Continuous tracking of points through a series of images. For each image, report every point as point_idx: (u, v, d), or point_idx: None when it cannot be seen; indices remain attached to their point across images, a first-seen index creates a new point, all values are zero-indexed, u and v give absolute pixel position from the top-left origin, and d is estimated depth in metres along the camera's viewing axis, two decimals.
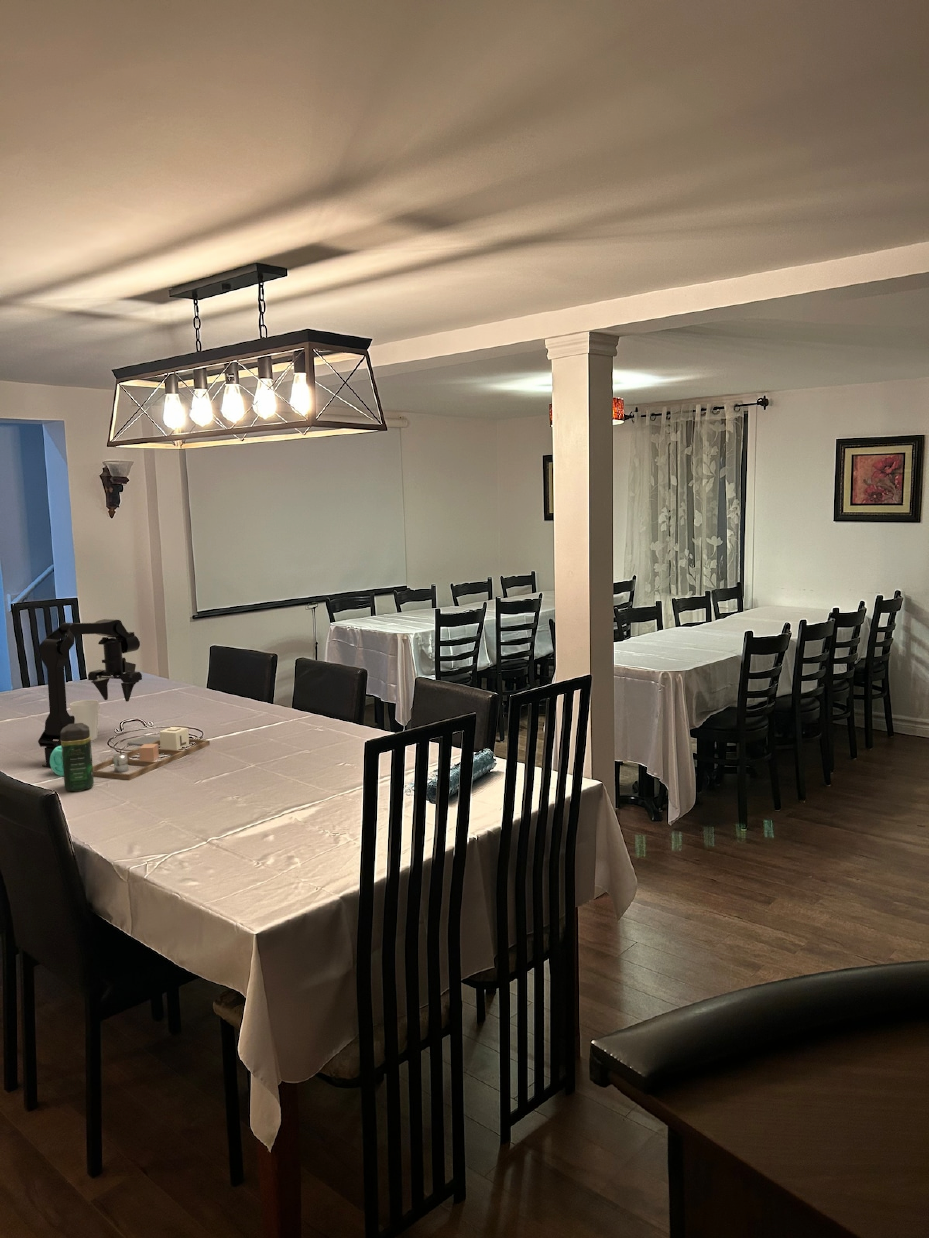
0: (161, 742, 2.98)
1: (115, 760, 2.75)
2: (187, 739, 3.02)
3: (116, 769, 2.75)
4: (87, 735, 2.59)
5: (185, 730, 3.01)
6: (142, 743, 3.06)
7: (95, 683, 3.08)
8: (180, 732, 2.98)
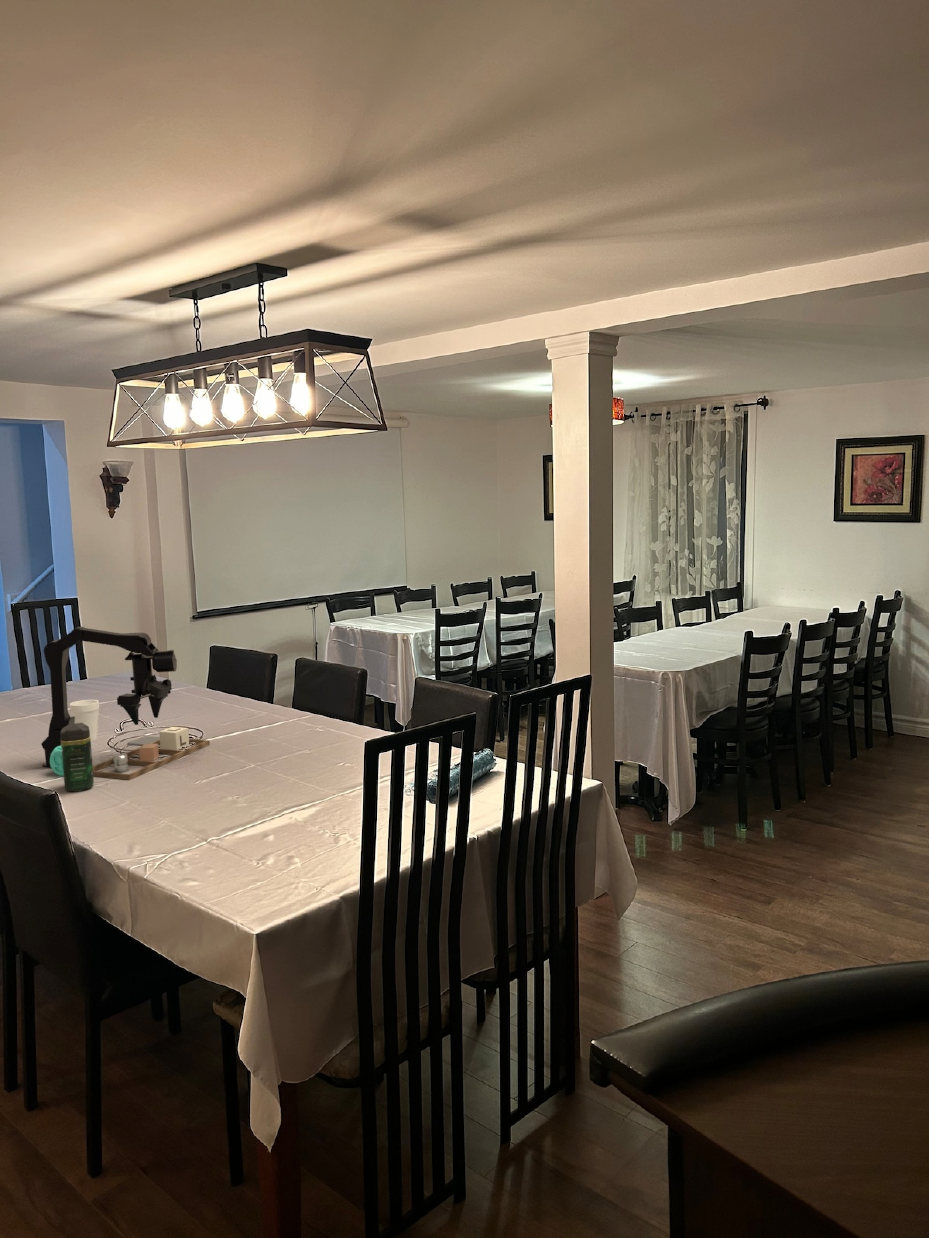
0: (161, 742, 2.98)
1: (115, 760, 2.75)
2: (187, 739, 3.02)
3: (116, 769, 2.75)
4: (87, 735, 2.59)
5: (185, 730, 3.01)
6: (142, 743, 3.06)
7: None
8: (180, 732, 2.98)
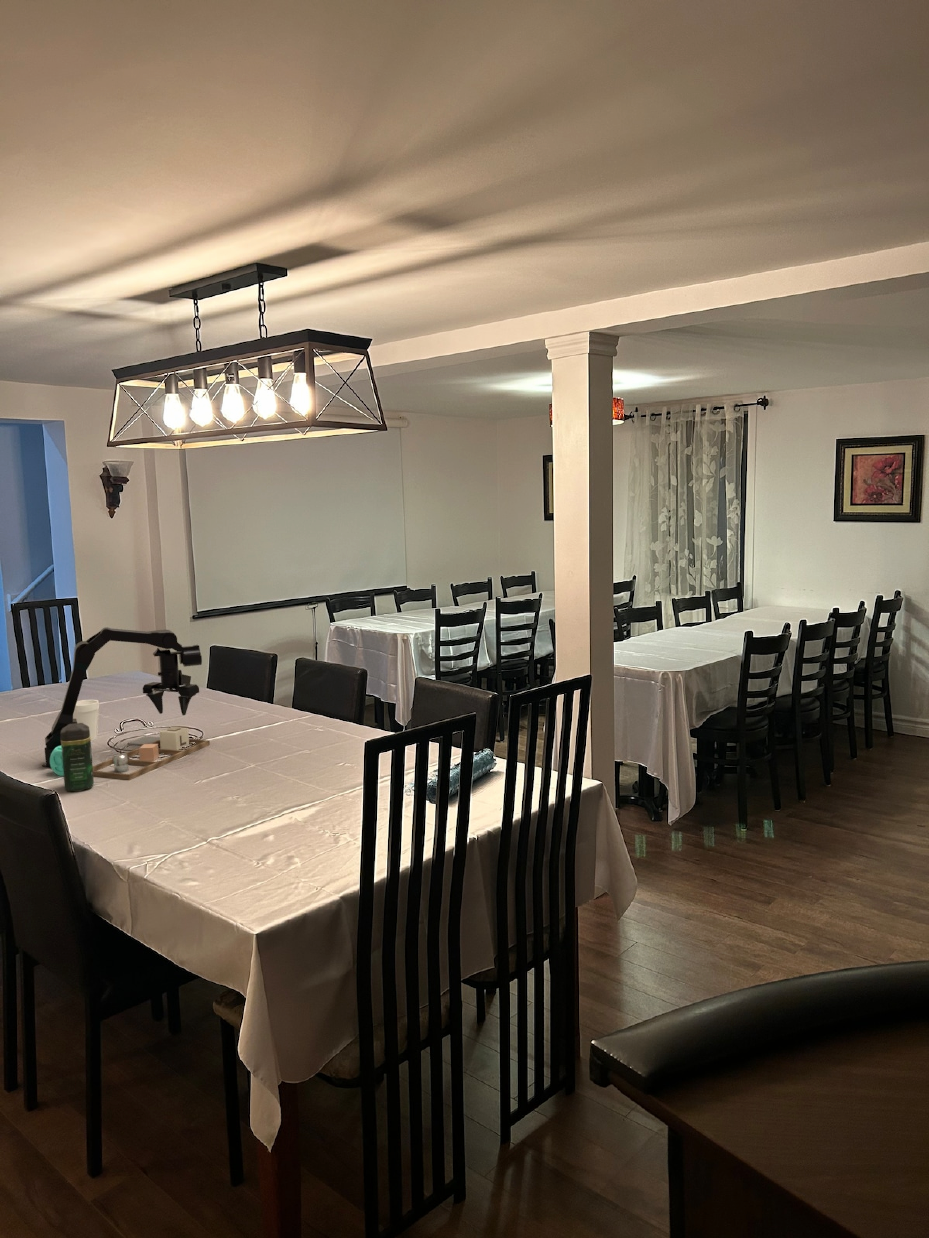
0: (161, 742, 2.98)
1: (115, 760, 2.75)
2: (187, 739, 3.02)
3: (116, 769, 2.75)
4: (87, 735, 2.59)
5: (185, 730, 3.01)
6: (142, 743, 3.06)
7: (150, 696, 2.98)
8: (180, 732, 2.98)
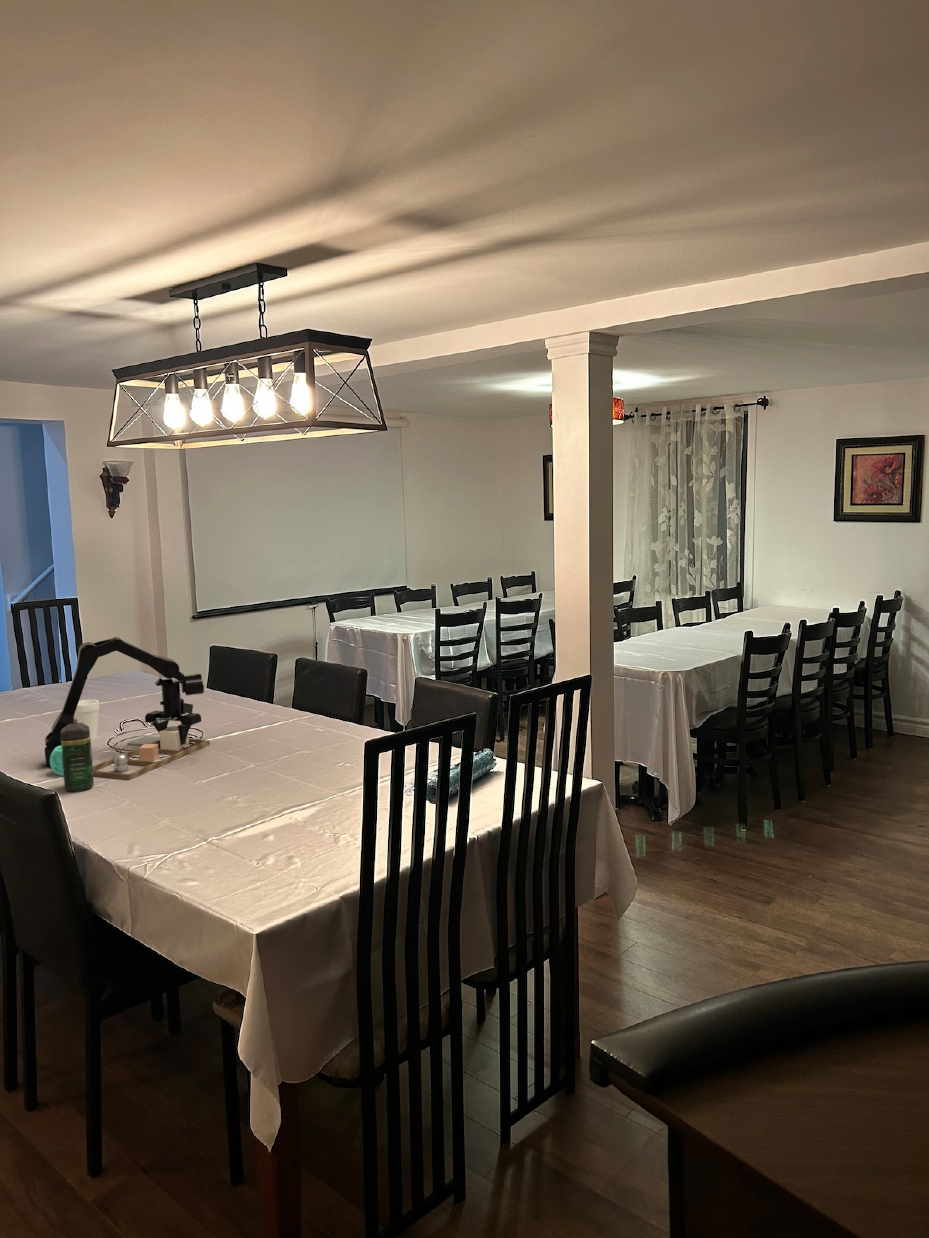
0: (161, 742, 2.98)
1: (115, 760, 2.75)
2: (187, 739, 3.02)
3: (116, 769, 2.75)
4: (87, 735, 2.59)
5: None
6: (142, 743, 3.06)
7: (155, 725, 2.99)
8: None
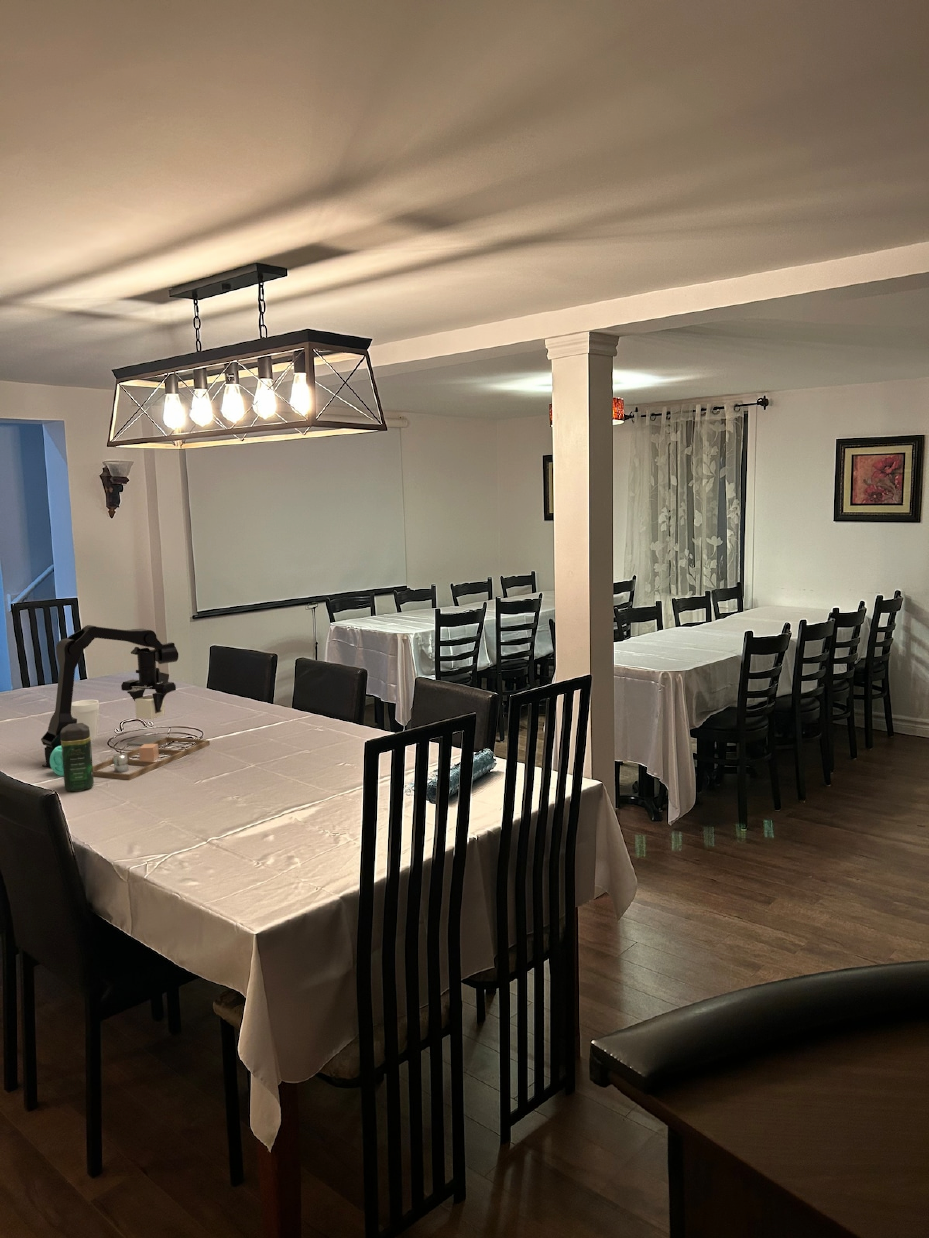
0: (136, 710, 3.04)
1: (115, 760, 2.75)
2: (162, 707, 3.07)
3: (116, 769, 2.75)
4: (87, 735, 2.59)
5: None
6: (142, 743, 3.06)
7: (131, 693, 3.05)
8: None
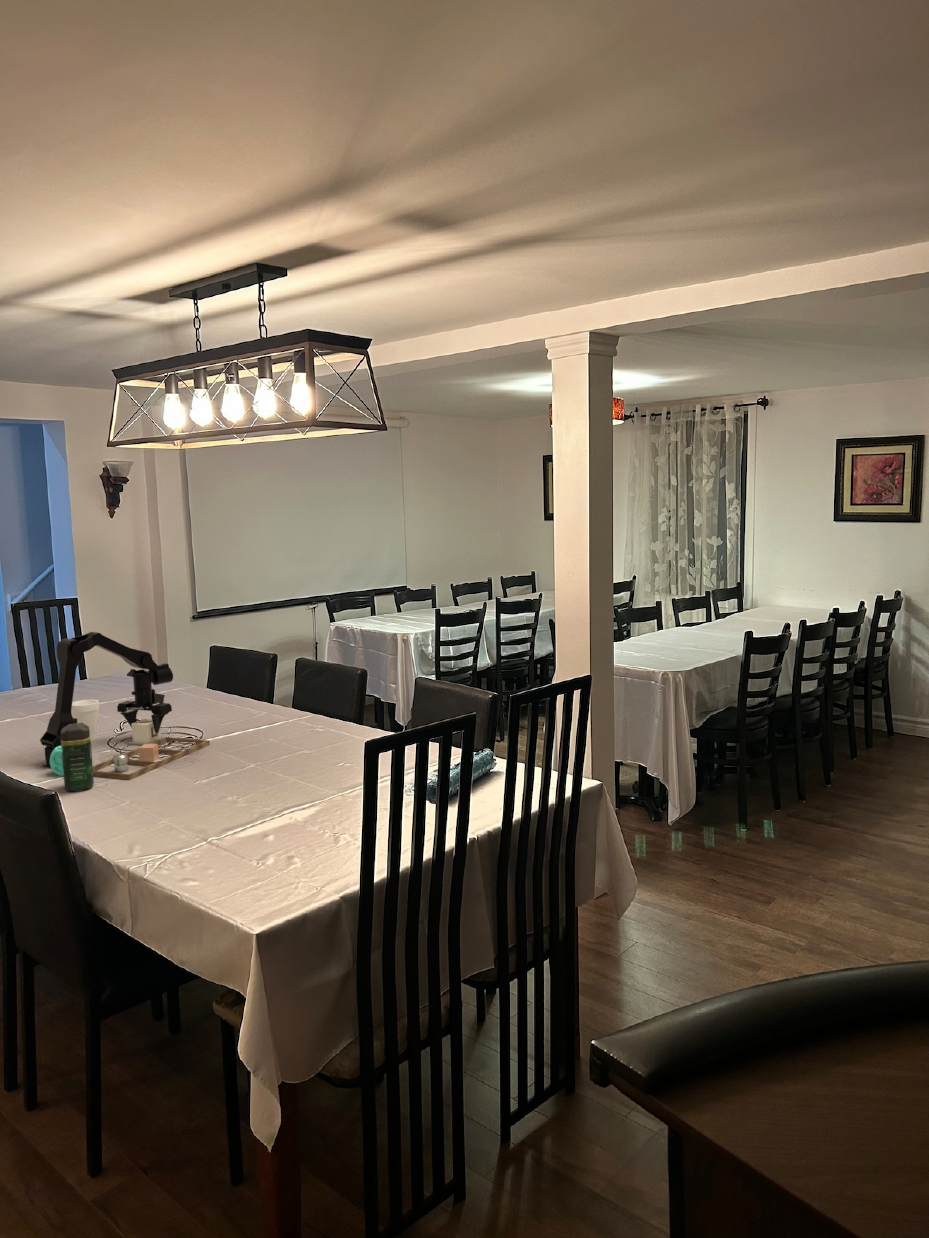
0: (133, 734, 3.07)
1: (115, 760, 2.75)
2: None
3: (116, 769, 2.75)
4: (87, 735, 2.59)
5: None
6: (142, 743, 3.06)
7: (124, 715, 3.08)
8: (151, 724, 3.07)
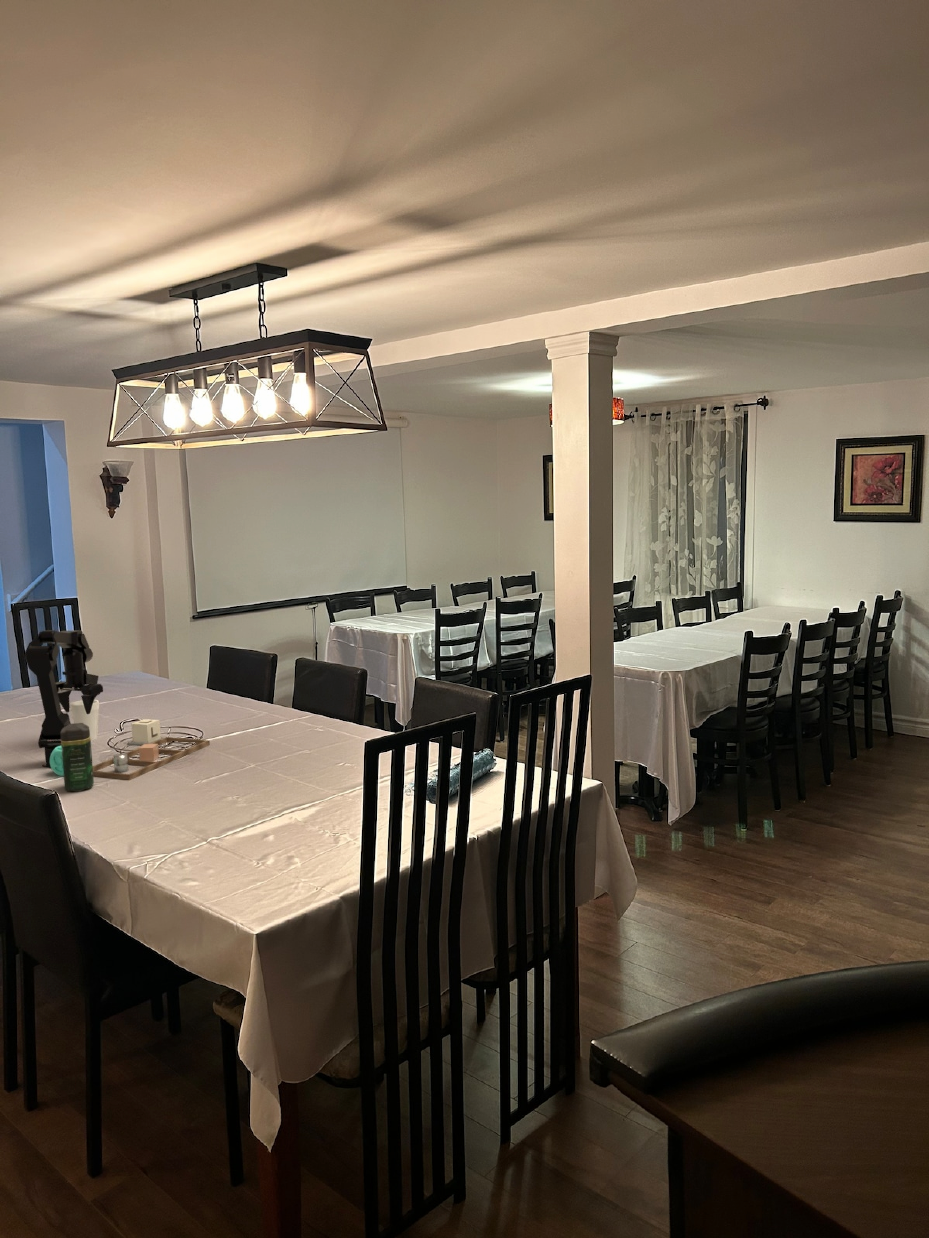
0: (133, 734, 3.07)
1: (115, 760, 2.75)
2: (158, 731, 3.11)
3: (116, 769, 2.75)
4: (87, 735, 2.59)
5: (156, 722, 3.10)
6: (142, 743, 3.06)
7: None
8: (151, 724, 3.07)
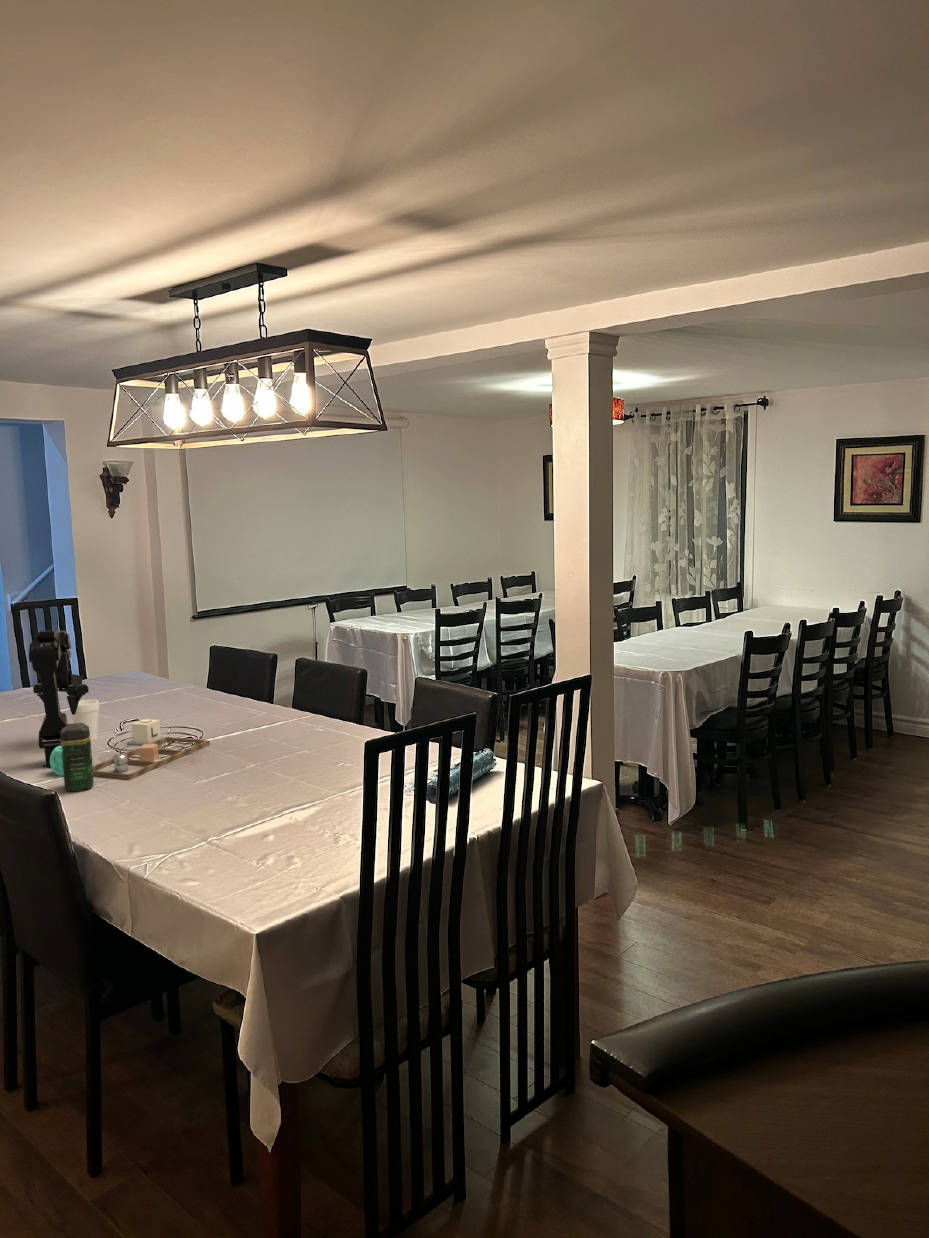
0: (133, 734, 3.07)
1: (115, 760, 2.75)
2: (158, 731, 3.11)
3: (116, 769, 2.75)
4: (87, 735, 2.59)
5: (156, 722, 3.10)
6: (142, 743, 3.06)
7: (40, 696, 3.02)
8: (151, 724, 3.07)
